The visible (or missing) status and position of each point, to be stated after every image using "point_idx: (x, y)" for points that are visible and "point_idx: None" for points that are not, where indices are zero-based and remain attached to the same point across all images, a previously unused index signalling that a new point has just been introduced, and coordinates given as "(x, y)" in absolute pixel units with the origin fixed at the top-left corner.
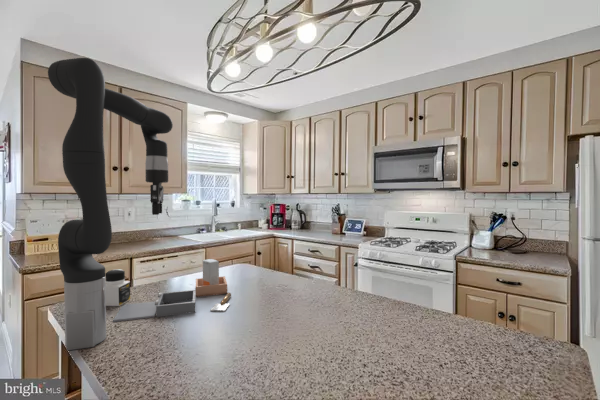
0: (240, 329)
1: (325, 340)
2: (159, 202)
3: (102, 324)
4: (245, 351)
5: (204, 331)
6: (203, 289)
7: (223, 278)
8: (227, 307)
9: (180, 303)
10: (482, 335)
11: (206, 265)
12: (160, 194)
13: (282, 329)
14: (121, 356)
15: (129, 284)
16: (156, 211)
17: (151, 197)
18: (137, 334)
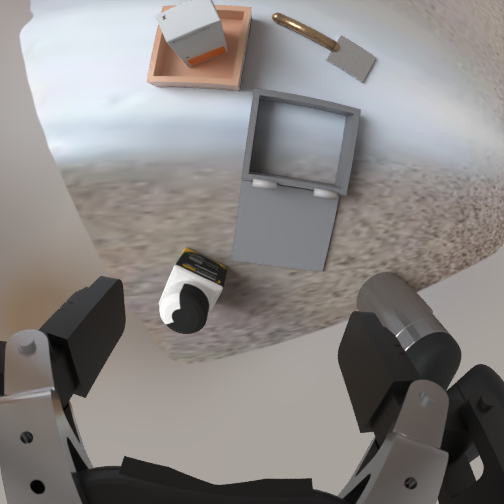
0: (454, 75)
1: (499, 20)
2: (437, 387)
3: (408, 287)
4: (501, 105)
5: (441, 124)
6: (241, 67)
7: None
8: (356, 45)
9: (354, 142)
10: None
11: (199, 35)
12: (431, 494)
13: (468, 31)
14: (450, 246)
15: (181, 264)
16: (393, 343)
17: (467, 469)
18: (401, 227)
